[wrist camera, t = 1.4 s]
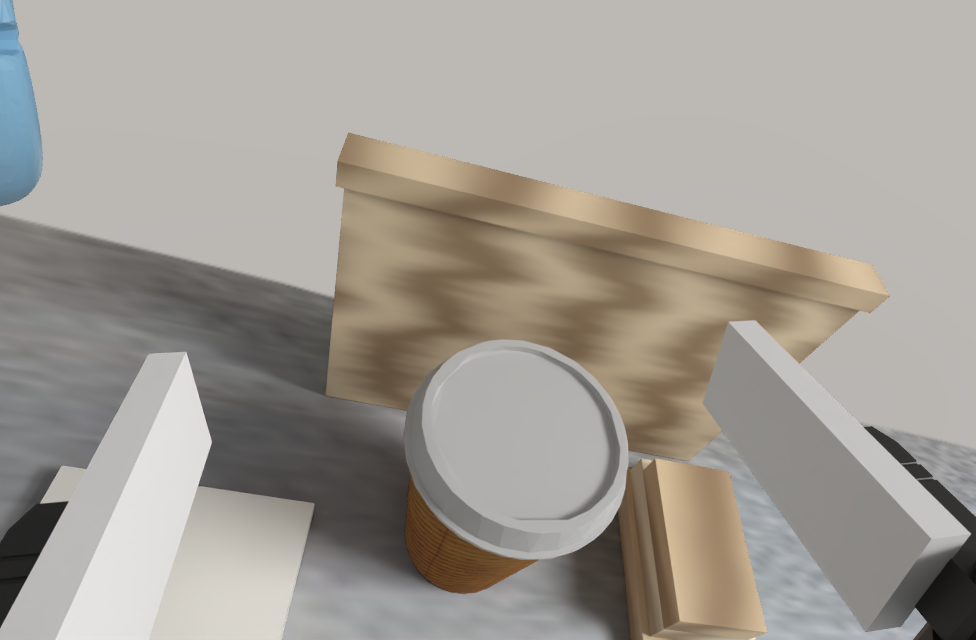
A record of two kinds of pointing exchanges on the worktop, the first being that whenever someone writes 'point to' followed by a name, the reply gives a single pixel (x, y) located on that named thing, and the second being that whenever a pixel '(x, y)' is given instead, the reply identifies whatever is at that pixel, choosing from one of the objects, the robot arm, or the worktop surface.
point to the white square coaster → (226, 564)
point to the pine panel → (561, 287)
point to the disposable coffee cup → (508, 463)
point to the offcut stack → (686, 556)
